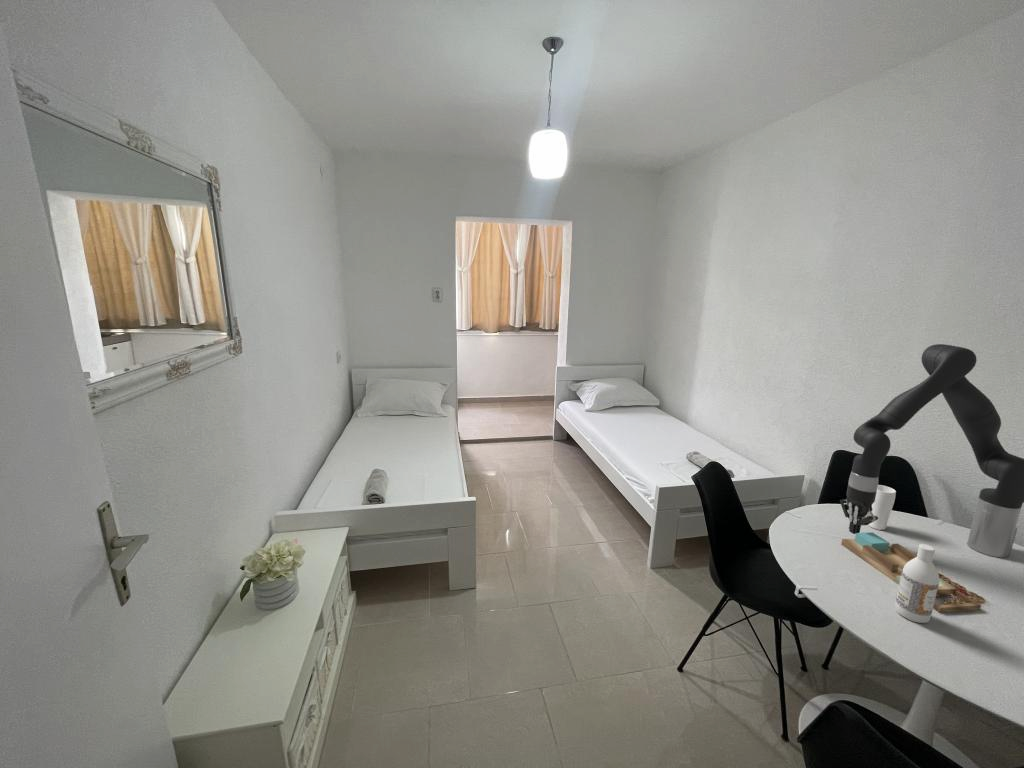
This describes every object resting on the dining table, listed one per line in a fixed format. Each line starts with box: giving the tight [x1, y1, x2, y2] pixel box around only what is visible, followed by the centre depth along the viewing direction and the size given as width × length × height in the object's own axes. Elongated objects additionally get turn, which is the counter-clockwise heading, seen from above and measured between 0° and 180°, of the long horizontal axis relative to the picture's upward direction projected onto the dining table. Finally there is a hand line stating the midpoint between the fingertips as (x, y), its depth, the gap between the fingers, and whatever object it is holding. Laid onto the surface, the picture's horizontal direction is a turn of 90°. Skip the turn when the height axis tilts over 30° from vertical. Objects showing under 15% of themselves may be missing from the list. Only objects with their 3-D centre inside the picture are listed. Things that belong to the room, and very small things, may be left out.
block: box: [854, 531, 890, 552], centre depth 140 cm, size 6×6×3 cm
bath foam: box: [894, 543, 940, 624], centre depth 112 cm, size 7×7×20 cm
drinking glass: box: [867, 484, 897, 531], centre depth 154 cm, size 7×7×15 cm
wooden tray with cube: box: [841, 538, 982, 614], centre depth 130 cm, size 12×32×4 cm, turn 5°
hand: (853, 532), depth 147 cm, fingers closed
